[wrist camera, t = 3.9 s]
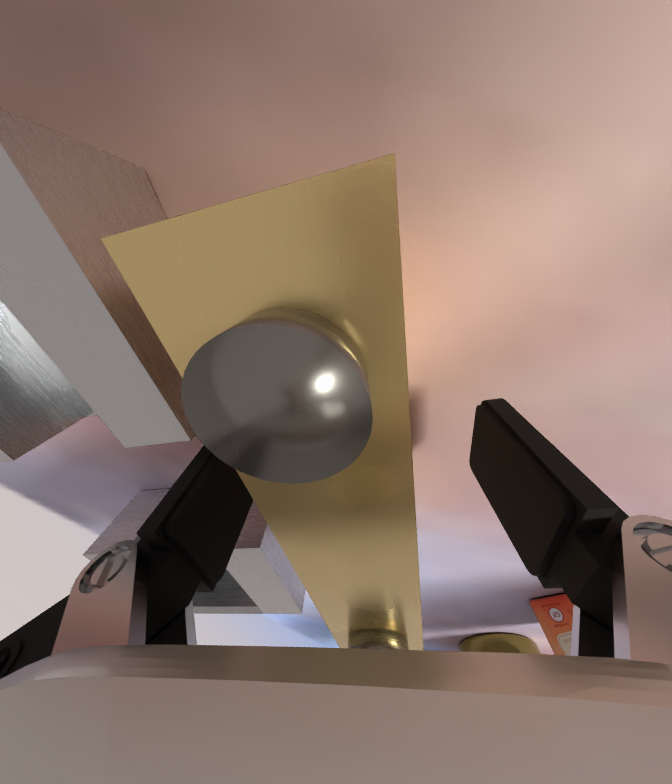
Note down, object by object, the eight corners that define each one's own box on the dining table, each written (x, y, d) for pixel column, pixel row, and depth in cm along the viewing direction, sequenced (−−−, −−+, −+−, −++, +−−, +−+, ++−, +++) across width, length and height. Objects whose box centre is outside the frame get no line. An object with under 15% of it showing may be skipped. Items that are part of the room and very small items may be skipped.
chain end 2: (139, 491, 14) (82, 554, 11) (281, 479, 13) (259, 547, 10) (194, 551, 18) (162, 613, 15) (311, 547, 16) (301, 613, 13)
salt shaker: (444, 649, 25) (491, 851, 17) (480, 626, 22) (565, 871, 13) (507, 659, 26) (585, 861, 17) (553, 638, 22) (682, 883, 14)
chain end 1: (-89, 239, 8) (-361, 229, 5) (143, 168, 7) (-31, 95, 4) (66, 409, 11) (-38, 466, 8) (239, 384, 10) (191, 440, 7)
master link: (271, 249, 8) (1, 233, 2) (363, 226, 7) (417, 100, 1) (347, 511, 14) (344, 688, 9) (397, 508, 14) (430, 692, 8)
